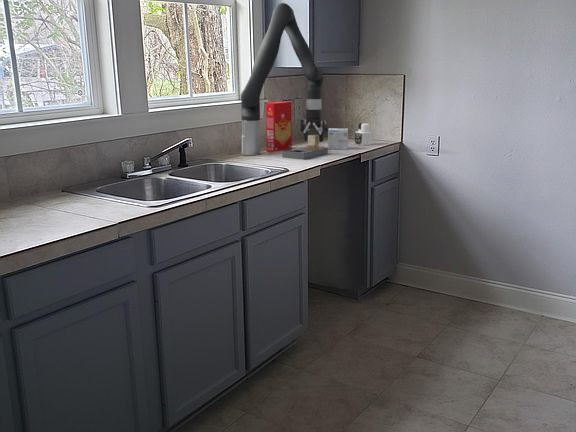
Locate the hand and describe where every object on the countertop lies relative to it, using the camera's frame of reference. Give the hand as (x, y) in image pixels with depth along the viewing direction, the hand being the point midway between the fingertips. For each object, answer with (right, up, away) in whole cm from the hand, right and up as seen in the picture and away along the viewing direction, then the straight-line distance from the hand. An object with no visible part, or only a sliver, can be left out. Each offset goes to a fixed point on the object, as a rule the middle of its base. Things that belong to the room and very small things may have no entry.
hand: (313, 141), depth 292 cm
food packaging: (-17, -3, +19) cm, 25 cm away
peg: (0, -6, +2) cm, 6 cm away
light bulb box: (+14, -1, +24) cm, 28 cm away
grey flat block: (-4, -8, -4) cm, 10 cm away
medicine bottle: (+30, +3, +39) cm, 49 cm away
